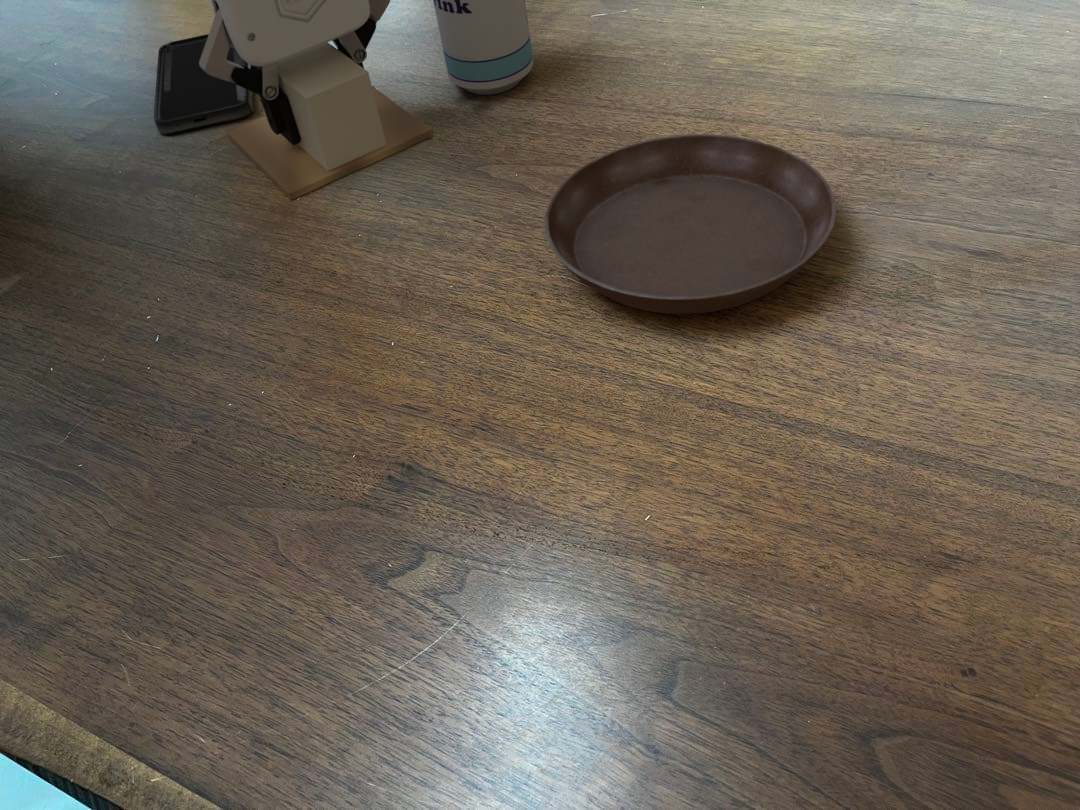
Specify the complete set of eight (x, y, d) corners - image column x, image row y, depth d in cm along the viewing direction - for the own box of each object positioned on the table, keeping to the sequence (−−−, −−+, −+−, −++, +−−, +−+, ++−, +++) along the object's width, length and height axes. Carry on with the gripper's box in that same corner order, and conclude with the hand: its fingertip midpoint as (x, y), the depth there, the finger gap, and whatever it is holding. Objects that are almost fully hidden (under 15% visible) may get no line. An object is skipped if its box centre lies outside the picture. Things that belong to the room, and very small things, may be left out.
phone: (244, 26, 98) (249, 103, 87) (248, 37, 99) (253, 115, 88) (157, 44, 97) (151, 124, 87) (162, 56, 98) (156, 137, 87)
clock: (389, 144, 81) (371, 70, 77) (328, 172, 79) (305, 97, 75) (325, 93, 88) (305, 23, 84) (267, 117, 86) (244, 47, 82)
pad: (291, 200, 78) (289, 193, 78) (228, 138, 86) (226, 131, 86) (432, 136, 82) (431, 129, 82) (360, 82, 90) (359, 76, 90)
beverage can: (433, 83, 88) (402, -65, 80) (499, 50, 91) (475, -97, 83) (485, 110, 84) (458, -44, 76) (552, 75, 87) (533, -78, 79)
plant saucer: (605, 156, 77) (602, 118, 75) (858, 185, 71) (862, 144, 69) (506, 312, 66) (498, 272, 64) (795, 362, 60) (797, 320, 58)
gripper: (147, -68, 65) (242, 187, 78) (391, -153, 71) (443, 97, 84) (108, -97, 70) (204, 147, 83) (341, -175, 76) (397, 65, 89)
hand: (323, 120), depth 83 cm, fingers closed on clock, 5 cm apart
